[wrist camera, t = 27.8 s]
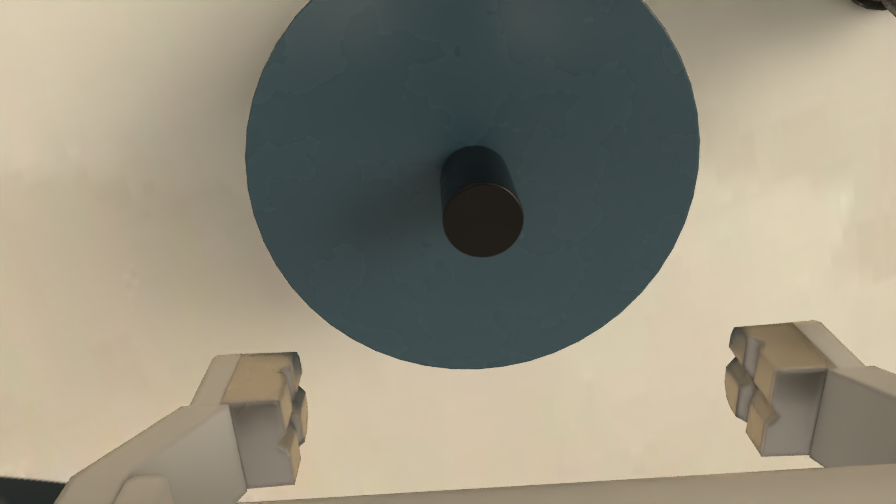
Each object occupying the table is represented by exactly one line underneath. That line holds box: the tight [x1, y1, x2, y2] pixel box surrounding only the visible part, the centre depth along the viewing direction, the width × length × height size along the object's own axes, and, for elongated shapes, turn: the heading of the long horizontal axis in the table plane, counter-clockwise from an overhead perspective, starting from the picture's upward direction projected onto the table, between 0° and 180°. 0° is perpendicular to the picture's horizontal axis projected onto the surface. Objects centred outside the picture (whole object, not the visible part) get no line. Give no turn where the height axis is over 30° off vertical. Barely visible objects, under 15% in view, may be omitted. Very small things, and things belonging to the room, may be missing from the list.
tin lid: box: [245, 0, 700, 369], centre depth 23 cm, size 16×16×5 cm
